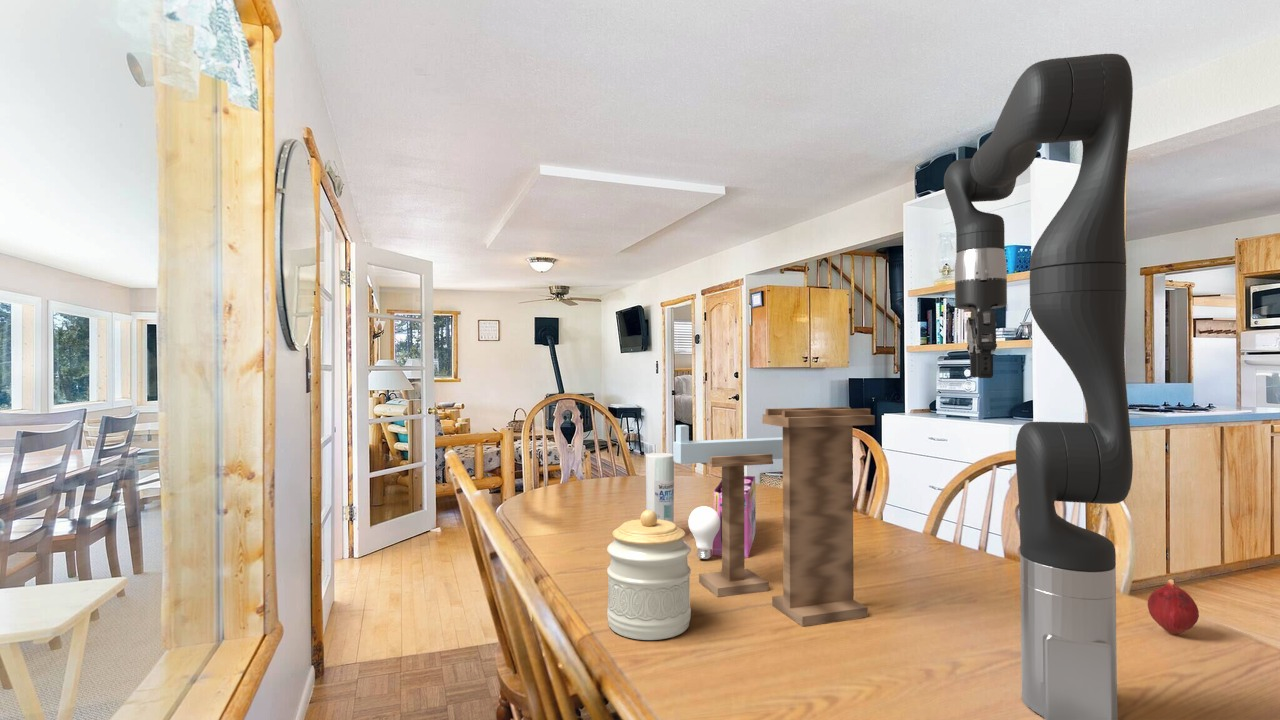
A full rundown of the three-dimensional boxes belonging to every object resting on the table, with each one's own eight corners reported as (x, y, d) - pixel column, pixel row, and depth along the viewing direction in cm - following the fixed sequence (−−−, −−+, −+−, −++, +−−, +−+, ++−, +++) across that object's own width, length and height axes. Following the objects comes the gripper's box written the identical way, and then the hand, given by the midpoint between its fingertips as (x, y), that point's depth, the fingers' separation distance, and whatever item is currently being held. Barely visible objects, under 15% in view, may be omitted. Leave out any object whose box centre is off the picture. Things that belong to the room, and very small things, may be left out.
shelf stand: (843, 596, 110) (842, 406, 110) (878, 615, 101) (876, 409, 102) (761, 607, 105) (760, 408, 105) (791, 628, 96) (790, 411, 96)
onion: (1208, 644, 90) (1208, 588, 90) (1162, 640, 91) (1162, 585, 92) (1182, 627, 96) (1182, 575, 96) (1139, 624, 97) (1139, 572, 97)
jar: (617, 647, 90) (617, 522, 90) (599, 613, 102) (599, 504, 102) (703, 636, 93) (703, 516, 93) (675, 605, 106) (675, 499, 106)
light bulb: (682, 561, 129) (682, 507, 130) (696, 553, 135) (696, 501, 135) (712, 566, 126) (712, 511, 126) (725, 557, 132) (725, 505, 132)
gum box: (748, 560, 130) (748, 494, 130) (710, 557, 132) (710, 493, 132) (756, 531, 154) (756, 475, 154) (723, 529, 155) (723, 474, 156)
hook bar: (799, 454, 121) (798, 421, 121) (809, 457, 118) (809, 422, 118) (673, 461, 113) (673, 424, 113) (680, 463, 110) (680, 426, 110)
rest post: (752, 576, 120) (751, 449, 121) (773, 590, 113) (773, 454, 113) (694, 582, 116) (693, 451, 117) (712, 597, 109) (712, 457, 109)
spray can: (661, 537, 148) (661, 451, 149) (680, 542, 143) (679, 454, 144) (639, 541, 144) (639, 454, 144) (658, 548, 139) (658, 457, 139)
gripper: (951, 285, 112) (951, 377, 111) (959, 274, 98) (960, 378, 98) (999, 283, 109) (1000, 377, 109) (1014, 271, 96) (1015, 378, 95)
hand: (981, 377), depth 103 cm, fingers open, 8 cm apart
